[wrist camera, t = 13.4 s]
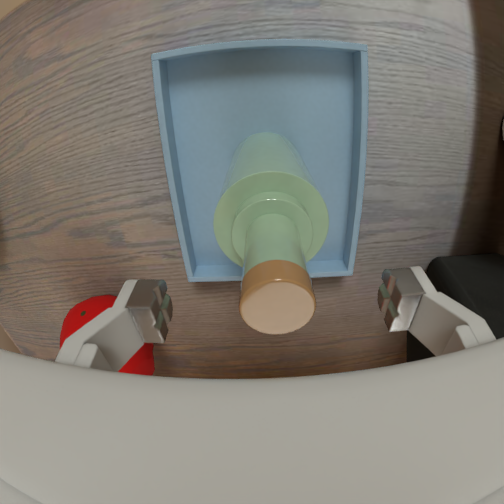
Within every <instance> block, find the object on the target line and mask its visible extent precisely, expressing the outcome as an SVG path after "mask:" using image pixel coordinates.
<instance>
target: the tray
mask: <svg viewBox="0 0 504 504" xmlns="http://www.w3.org/2000/svg"><path fill="white" fill-rule="evenodd" d="M367 51H368V50H367V45H365V44H357V43H349V42H338V41H326V40H305V39H266V40H246V41H233V42H222V43H213V44H205V45H198V46H192V47H185V48H180V49H174V50H169V51H164V52H159V53H154V54H151V60H152V71H153V81H154V90H155V98H156V106H157V114H158V122H159V129H160V136H161V142H162V149H163V155H164V162H165V168H166V174H167V179H168V185H169V191H170V196H171V201H172V207H173V212H174V217H175V222H176V227H177V232H178V237H179V241H180V246H181V250H182V255H183V260H184V264H185V268H186V273H187V277H188V281H189V282H212V281H242V276H243V267H241V266H239V265H237V264H236V263H234V262H233V261H232V260H230V259H229V258H228V257H227V256H226V255H225V254H224V252H223V251H222V249H221V248H220V246H219V244H218V242H217V240H216V237H215V233H214V227H213V220H214V213H215V209H216V206H217V202H218V199H219V196H220V193H221V190H222V186H223V183H224V180H225V177H226V174H227V171H228V168H229V164H230V161H231V158H232V155H233V153H234V151H235V149H236V147H237V146H238V145H239V144H240V143H241V142H242V141H243V140H244V139H246V138H247V137H249V136H251V135H253V134H257V133H262V132H271V133H276V134H279V135H281V136H284V137H285V138H287V139H288V140H289V141H291V142H292V143H293V144H294V146H295V147H296V148H297V150H298V152H299V154H300V156H301V157H302V159H303V161H304V163H305V165H306V167H307V169H308V170H309V172H310V174H311V176H312V178H313V180H314V182H315V184H316V186H317V188H318V190H319V192H320V194H321V196H322V198H323V200H324V202H325V204H326V207H327V210H328V215H329V228H328V233H327V237H326V239H325V242H324V244H323V245H322V247H321V249H320V250H319V251H318V253H317V254H316V255H315V256H314V257H313V258H312V259H311V260H309V261H308V262H307V263H306V264H307V269H308V273H309V276H310V278H314V277H333V276H350V275H352V274H353V268H354V262H355V255H356V249H357V242H358V235H359V227H360V219H361V210H362V201H363V191H364V180H365V168H366V153H367V133H368V52H367Z"/></svg>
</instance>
